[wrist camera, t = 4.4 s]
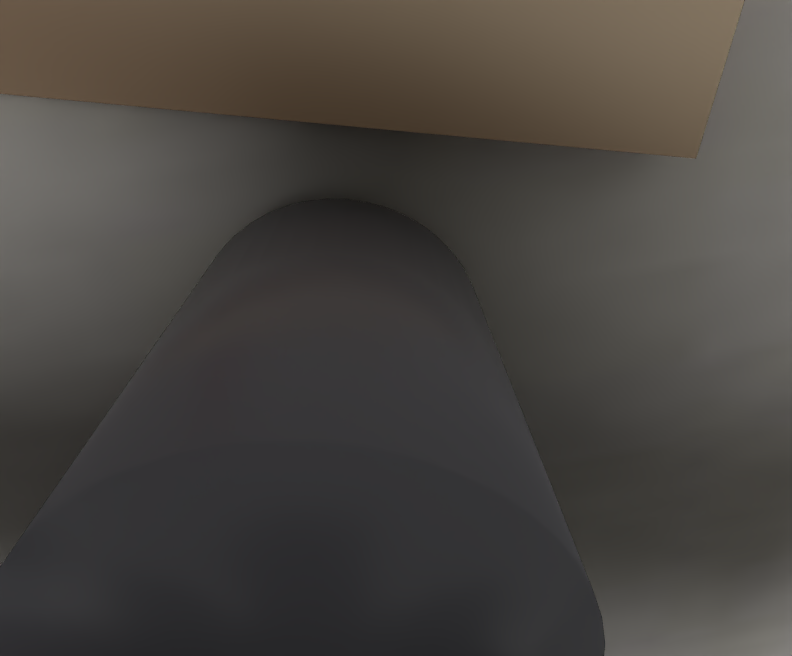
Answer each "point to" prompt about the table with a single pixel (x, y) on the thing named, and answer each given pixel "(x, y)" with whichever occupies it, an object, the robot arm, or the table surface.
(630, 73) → the cork mat
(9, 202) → the table surface
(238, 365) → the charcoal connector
